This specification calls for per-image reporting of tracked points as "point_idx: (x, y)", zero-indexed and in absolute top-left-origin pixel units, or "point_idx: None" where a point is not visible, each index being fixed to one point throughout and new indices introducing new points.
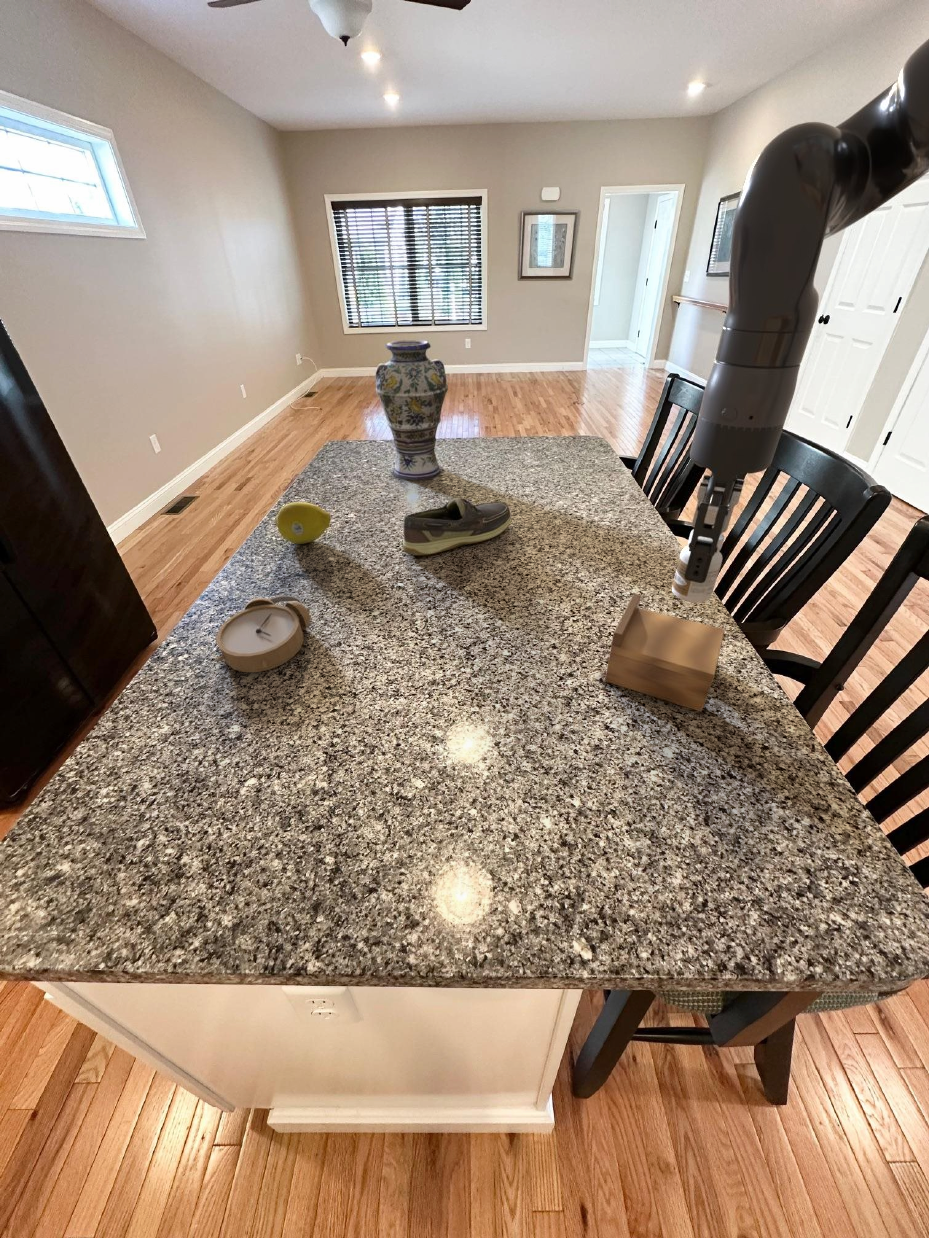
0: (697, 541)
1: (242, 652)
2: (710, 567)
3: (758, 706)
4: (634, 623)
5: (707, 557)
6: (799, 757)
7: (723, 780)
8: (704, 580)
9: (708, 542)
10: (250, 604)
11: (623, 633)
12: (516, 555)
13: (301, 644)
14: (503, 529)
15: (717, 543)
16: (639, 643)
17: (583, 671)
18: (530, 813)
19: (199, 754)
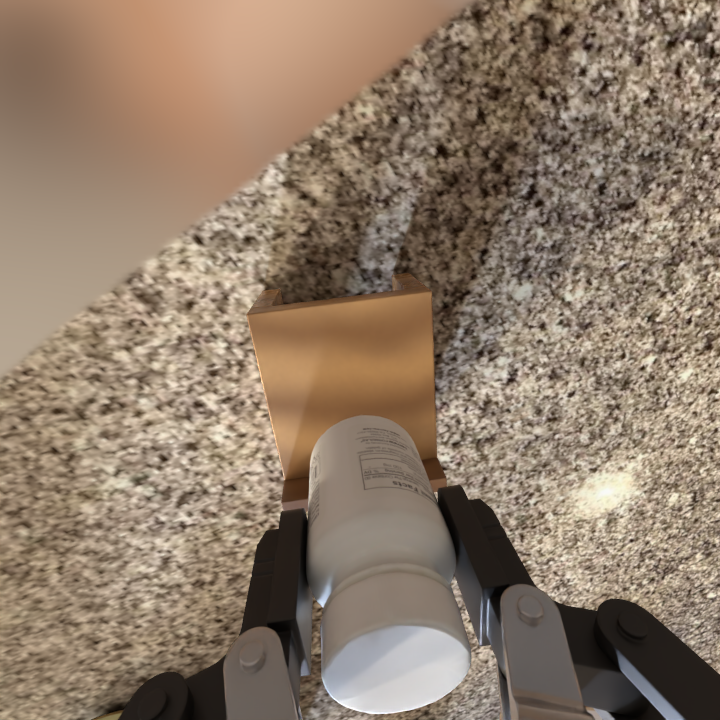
0: (639, 713)
1: (598, 716)
2: (437, 517)
3: (334, 183)
4: None
5: (532, 584)
6: (436, 84)
7: (545, 201)
8: (462, 489)
9: (621, 683)
10: None
11: (428, 475)
12: (173, 658)
13: None
14: (119, 715)
15: (559, 643)
16: None
17: None
18: (679, 393)
19: (695, 639)
